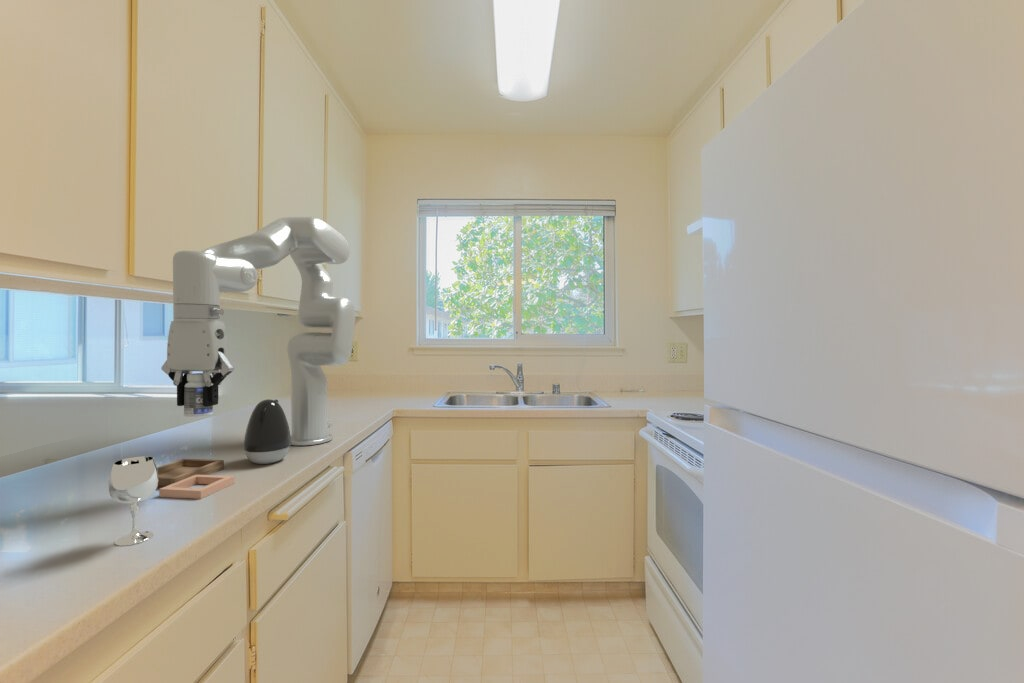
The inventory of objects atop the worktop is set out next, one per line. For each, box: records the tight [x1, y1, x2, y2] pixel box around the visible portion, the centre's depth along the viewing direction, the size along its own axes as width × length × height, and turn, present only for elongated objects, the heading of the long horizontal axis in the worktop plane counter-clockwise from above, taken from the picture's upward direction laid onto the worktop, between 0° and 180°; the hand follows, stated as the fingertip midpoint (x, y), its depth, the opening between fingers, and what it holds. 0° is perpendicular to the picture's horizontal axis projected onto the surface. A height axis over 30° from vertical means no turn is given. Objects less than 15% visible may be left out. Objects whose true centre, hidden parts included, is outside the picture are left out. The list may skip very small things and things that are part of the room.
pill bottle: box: [183, 372, 214, 418], centre depth 87 cm, size 5×5×8 cm
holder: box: [158, 474, 235, 500], centre depth 87 cm, size 9×9×2 cm
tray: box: [157, 458, 225, 489], centre depth 94 cm, size 13×10×2 cm
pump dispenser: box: [243, 399, 292, 465], centre depth 106 cm, size 10×10×15 cm
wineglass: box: [108, 455, 159, 547], centre depth 66 cm, size 6×6×12 cm
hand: (197, 404), depth 87 cm, fingers closed on pill bottle, 4 cm apart
